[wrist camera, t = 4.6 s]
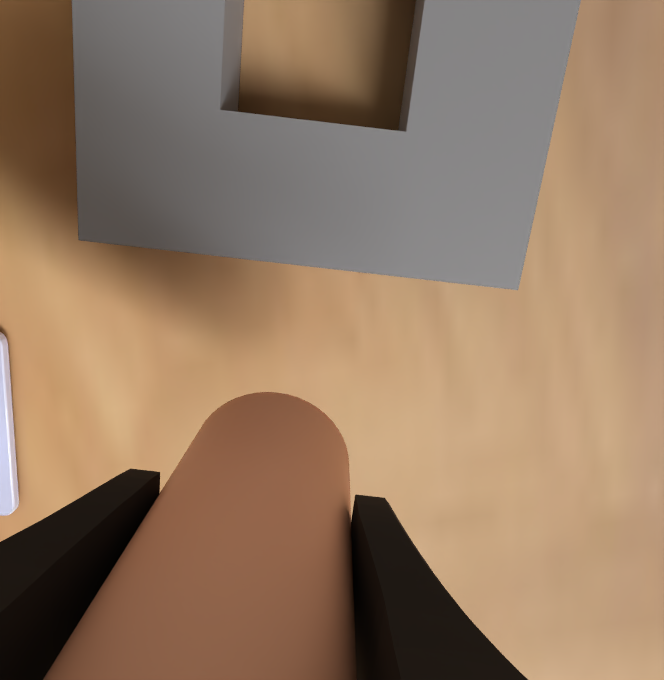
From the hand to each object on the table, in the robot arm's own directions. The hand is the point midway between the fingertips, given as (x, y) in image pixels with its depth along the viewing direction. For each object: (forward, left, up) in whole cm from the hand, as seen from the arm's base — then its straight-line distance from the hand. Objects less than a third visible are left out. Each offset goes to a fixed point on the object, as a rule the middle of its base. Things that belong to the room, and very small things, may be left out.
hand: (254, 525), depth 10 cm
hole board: (0, +12, -9) cm, 15 cm away
